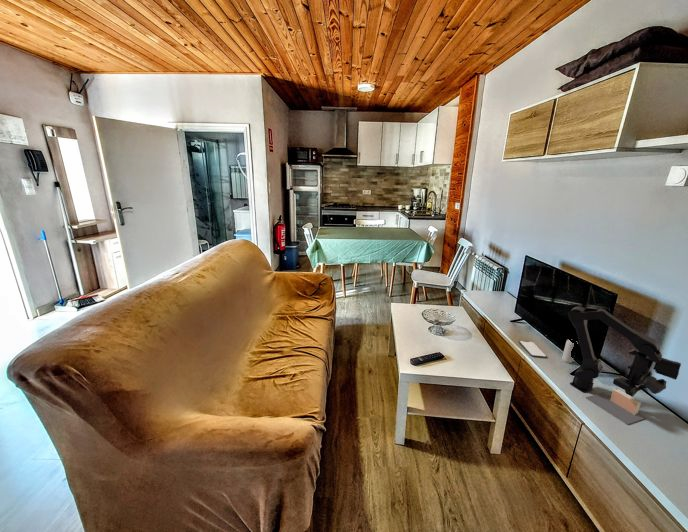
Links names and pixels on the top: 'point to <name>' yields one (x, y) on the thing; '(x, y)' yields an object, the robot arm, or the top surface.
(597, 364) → the robot arm
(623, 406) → the block
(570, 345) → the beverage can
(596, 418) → the top surface
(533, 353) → the phone case
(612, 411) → the mat
